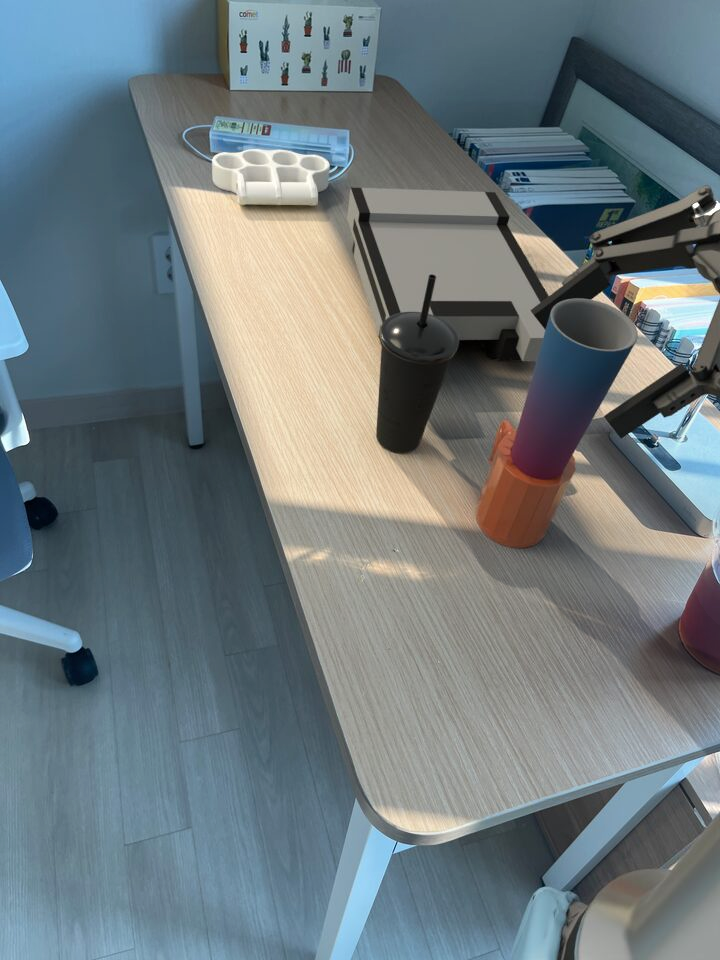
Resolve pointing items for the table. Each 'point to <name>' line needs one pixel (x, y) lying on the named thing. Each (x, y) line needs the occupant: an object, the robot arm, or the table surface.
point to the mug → (517, 496)
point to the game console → (448, 265)
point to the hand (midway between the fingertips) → (572, 371)
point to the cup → (570, 382)
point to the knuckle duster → (271, 176)
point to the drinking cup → (411, 373)
